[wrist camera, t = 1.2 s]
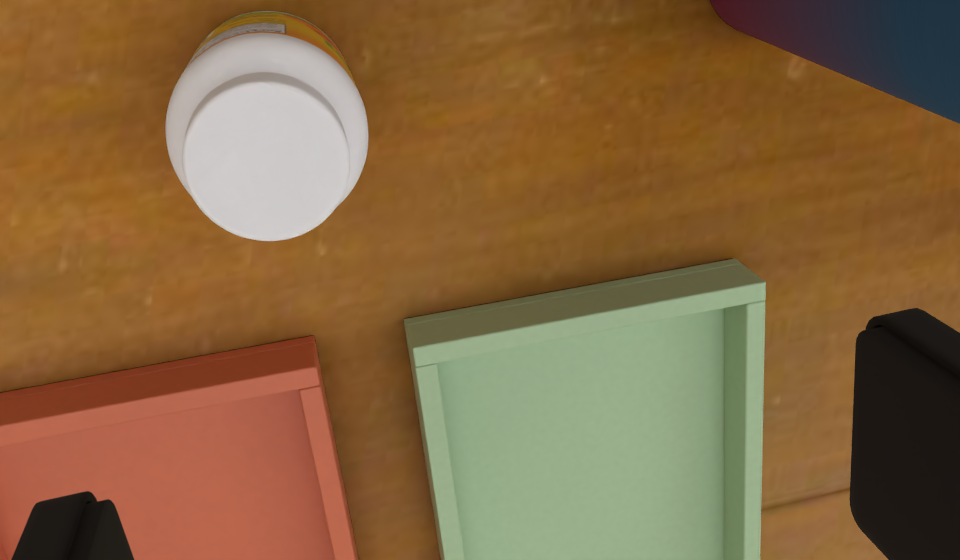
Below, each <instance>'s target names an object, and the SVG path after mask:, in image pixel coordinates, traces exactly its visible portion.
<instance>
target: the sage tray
mask: <svg viewBox="0 0 960 560" xmlns="http://www.w3.org/2000/svg"><path fill="white" fill-rule="evenodd" d="M765 299H766V282H765V281H764V280H762V279H761V278H760V277H758V276H757V275H756V274H755V273H753V272H752V271H751V270H749V269H748V268H747V267H745V266H744V265H743V264H741V262H739V261H738V260H737V259H730V260H724V261H719V262H713V263H708V264H702V265H697V266H691V267H686V268H681V269H675V270H670V271H664V272H659V273H653V274H648V275H642V276H637V277H631V278H626V279H621V280H615V281H610V282H604V283H599V284H593V285H588V286H582V287H577V288H571V289H566V290H560V291H555V292H550V293H544V294H539V295H533V296H528V297H522V298H517V299H511V300H506V301H500V302H495V303H490V304H484V305H479V306H473V307H468V308H462V309H457V310H451V311H446V312H440V313H435V314H429V315H424V316H419V317H413V318H408V319H404V327H405V333H406V339H407V346H408V352H409V359H410V365H411V372H412V378H413V385H414V391H415V398H416V404H417V411H418V417H419V424H420V430H421V436H422V443H423V449H424V456H425V462H426V469H427V475H428V482H429V488H430V495H431V501H432V508H433V514H434V521H435V527H436V534H437V540H438V546H439V553H440V559H441V560H760V536H761V488H762V440H763V392H764V344H765V301H764V300H765Z"/></svg>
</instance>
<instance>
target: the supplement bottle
mask: <svg viewBox="0 0 960 560" xmlns="http://www.w3.org/2000/svg"><path fill="white" fill-rule="evenodd" d="M368 139H369V135H368V123H367V116H366V111H365V107H364V103H363V101H362V99H361V96H360V93H359V91H358V89H357V86H356V83H355V81H354V79H353V77H352V74H351V72H350V70H349V68H348V66H347V63H346V61H345V59H344V57H343V55H342V54H341V52H340V50H339V49H338V48H337V46H336V45H335V44H334V43H333V41H332V40H331V39H330V38H329V37H328V36H327V35H326V34H325V33H324V32H323V31H321V30H320V29H319V28H317V27H316V26H315V25H313V24H312V23H310V22H308V21H306V20H304V19H302V18H300V17H297V16H295V15H291V14H288V13H283V12H277V11H257V12H250V13H245V14H242V15H238V16H236V17H234V18H231V19H229V20H227V21H226V22H224V23H222V24H221V25H219V26H218V27H217V28H216V29H214V30H213V31H212V32H211V33H210V34H209V35H208V36H207V37H206V38H205V39H204V40H203V41H202V43H201V44H200V46H199V47H198V48H197V50H196V51H195V53H194V55H193V57H192V58H191V60H190V62H189V63H188V65H187V66H186V68H185V70H184V71H183V73H182V75H181V76H180V78H179V80H178V81H177V83H176V85H175V87H174V90H173V93H172V95H171V98H170V102H169V106H168V110H167V115H166V141H167V148H168V153H169V157H170V160H171V163H172V165H173V168H174V170H175V172H176V174H177V176H178V178H179V180H180V181H181V183H182V184H183V186H184V187H185V189H186V190H187V191H188V193H189V194H190V195H191V196H192V197H193V199H194V201H195V202H196V204H197V205H198V206H199V208H200V209H201V210H202V212H203V213H204V214H205V215H207V216H208V217H209V218H210V219H211V220H212V221H213V222H215V223H216V224H217V225H219V226H220V227H222V228H223V229H225V230H227V231H229V232H231V233H233V234H235V235H238V236H241V237H244V238H248V239H253V240H259V241H278V240H285V239H290V238H293V237H296V236H299V235H302V234H304V233H306V232H308V231H310V230H312V229H314V228H315V227H316V226H318V225H319V224H321V223H322V222H323V221H324V220H325V219H326V218H327V217H328V216H329V215H330V214H331V213H332V212H333V211H334V210H335V208H336V207H337V206H338V205H339V204H340V203H341V202H342V201H344V200H345V198H346V197H347V196H348V195H349V193H350V192H351V191H352V189H353V188H354V186H355V184H356V183H357V181H358V179H359V177H360V174H361V172H362V170H363V167H364V164H365V160H366V157H367V151H368Z"/></svg>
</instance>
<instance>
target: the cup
mask: <svg viewBox="0 0 960 560" xmlns="http://www.w3.org/2000/svg"><path fill="white" fill-rule="evenodd" d="M710 3H711V4H712V6H713V8H714V9H715V11H716V13H717V14H718V15H719V16H720V17H721V18H722V19H723V20H724V21H725V22H726V23H727V24H728V25H730V26H731V27H733V28H735V29H736V30H738V31H741V32H743V33H746V34H748V35H750V36H753V37H755V38H757V39H760V40H762V41H765V42H767V43H769V44H772V45H774V46H776V47H779V48H781V49H784V50H786V51H788V52H791V53H793V54H795V55H798V56H800V57H803V58H805V59H807V60H810V61H812V62H814V63H817V64H819V65H822V66H824V67H826V68H829V69H831V70H833V71H836V72H838V73H841V74H843V75H845V76H848V77H850V78H852V79H855V80H857V81H860V82H862V83H864V84H867V85H869V86H871V87H874V88H876V89H879V90H881V91H883V92H886V93H888V94H890V95H893V96H895V97H898V98H900V99H902V100H905V101H907V102H909V103H912V104H914V105H917V106H919V107H921V108H924V109H926V110H928V111H931V112H933V113H936V114H938V115H940V116H943V117H945V118H947V119H950V120H952V121H955V122H957V123H959V124H960V0H710Z"/></svg>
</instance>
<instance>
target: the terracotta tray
mask: <svg viewBox="0 0 960 560" xmlns="http://www.w3.org/2000/svg"><path fill="white" fill-rule="evenodd" d="M85 491H89V492H92V493H93V495H94V496H95V497H96V499H97V501H102V500H107V499H109V500H111V501H112V502H113V503H114V505H115V507H116V510H117V512H118V515H119V518H120V521H121V523H122V526H123V529H124V532H125V535H126V537H127V540H128V543H129V546H130V549H131V551H132V554H133V557H134V560H359V558H358V553H357V548H356V542H355V537H354V532H353V527H352V522H351V517H350V512H349V507H348V502H347V497H346V492H345V487H344V482H343V477H342V472H341V467H340V462H339V457H338V452H337V447H336V442H335V437H334V432H333V427H332V422H331V417H330V412H329V407H328V402H327V397H326V392H325V387H324V382H323V377H322V372H321V367H320V362H319V357H318V352H317V347H316V342H315V337H314V336H309V337H303V338H298V339H292V340H287V341H281V342H276V343H270V344H265V345H259V346H254V347H249V348H243V349H238V350H232V351H227V352H221V353H216V354H210V355H205V356H199V357H194V358H188V359H183V360H178V361H172V362H167V363H161V364H156V365H150V366H145V367H139V368H134V369H128V370H123V371H118V372H112V373H107V374H101V375H96V376H90V377H85V378H79V379H74V380H68V381H63V382H57V383H52V384H47V385H41V386H36V387H30V388H25V389H19V390H14V391H8V392H3V393H0V560H11V559H12V557H13V554H14V552H15V549H16V547H17V545H18V542H19V540H20V537H21V535H22V533H23V530H24V528H25V525H26V523H27V520H28V518H29V516H30V513H31V511H32V509H33V507H34V505H35V504H36V503H38V502H40V501H44V500H49V499H53V498H58V497H62V496H67V495H71V494H76V493H80V492H85Z"/></svg>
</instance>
